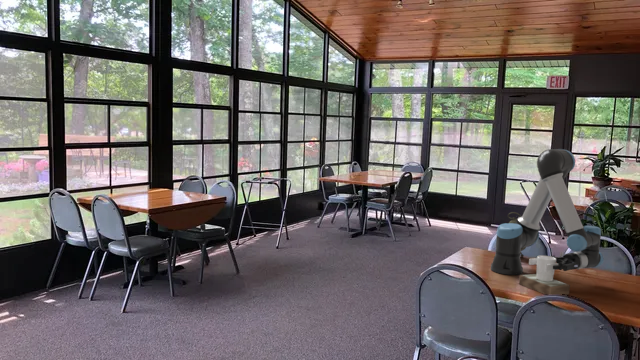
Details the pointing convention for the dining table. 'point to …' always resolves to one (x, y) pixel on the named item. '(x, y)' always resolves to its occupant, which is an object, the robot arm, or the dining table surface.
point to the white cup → (541, 268)
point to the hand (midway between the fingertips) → (537, 264)
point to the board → (544, 285)
